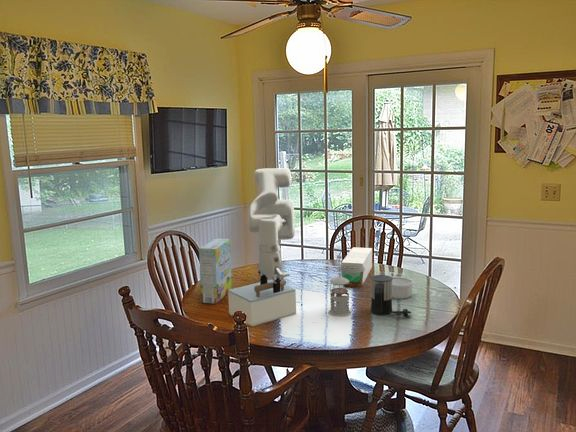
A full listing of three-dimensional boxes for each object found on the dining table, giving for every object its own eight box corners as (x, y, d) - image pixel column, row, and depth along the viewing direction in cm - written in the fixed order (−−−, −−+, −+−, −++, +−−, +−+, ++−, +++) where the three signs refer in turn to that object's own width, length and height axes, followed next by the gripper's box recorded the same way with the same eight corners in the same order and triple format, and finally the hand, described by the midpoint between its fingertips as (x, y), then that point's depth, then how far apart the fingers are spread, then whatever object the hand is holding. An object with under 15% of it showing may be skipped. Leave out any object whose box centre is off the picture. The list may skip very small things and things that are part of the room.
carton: (271, 302, 229) (271, 281, 227) (296, 313, 215) (295, 290, 213) (229, 314, 216) (228, 291, 215) (252, 326, 202) (251, 302, 200)
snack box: (218, 304, 229) (215, 248, 224) (200, 303, 230) (196, 248, 226) (233, 289, 249) (230, 237, 245) (216, 288, 251) (213, 237, 247)
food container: (337, 287, 248) (336, 267, 246) (340, 283, 253) (340, 264, 251) (361, 290, 243) (361, 269, 241) (365, 286, 249) (365, 266, 247)
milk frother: (369, 307, 220) (369, 274, 217) (406, 307, 219) (406, 273, 217) (373, 320, 206) (373, 284, 203) (412, 319, 205) (413, 284, 203)
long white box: (362, 284, 252) (362, 263, 250) (341, 283, 255) (341, 262, 253) (372, 267, 282) (372, 248, 280) (353, 266, 285) (352, 247, 283)
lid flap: (271, 280, 227) (270, 269, 227) (295, 290, 213) (295, 278, 212) (228, 291, 215) (227, 279, 214) (251, 302, 200) (250, 289, 199)
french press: (335, 318, 209) (334, 259, 204) (322, 309, 219) (321, 252, 215) (355, 314, 212) (355, 256, 208) (342, 305, 223) (341, 250, 219)
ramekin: (418, 294, 235) (418, 280, 234) (403, 302, 225) (403, 287, 224) (393, 288, 244) (393, 274, 242) (378, 296, 234) (378, 281, 233)
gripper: (289, 250, 201) (290, 292, 204) (264, 243, 214) (266, 282, 217) (273, 253, 196) (275, 296, 199) (249, 245, 210) (251, 286, 213)
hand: (270, 289), depth 208 cm, fingers open, 8 cm apart
